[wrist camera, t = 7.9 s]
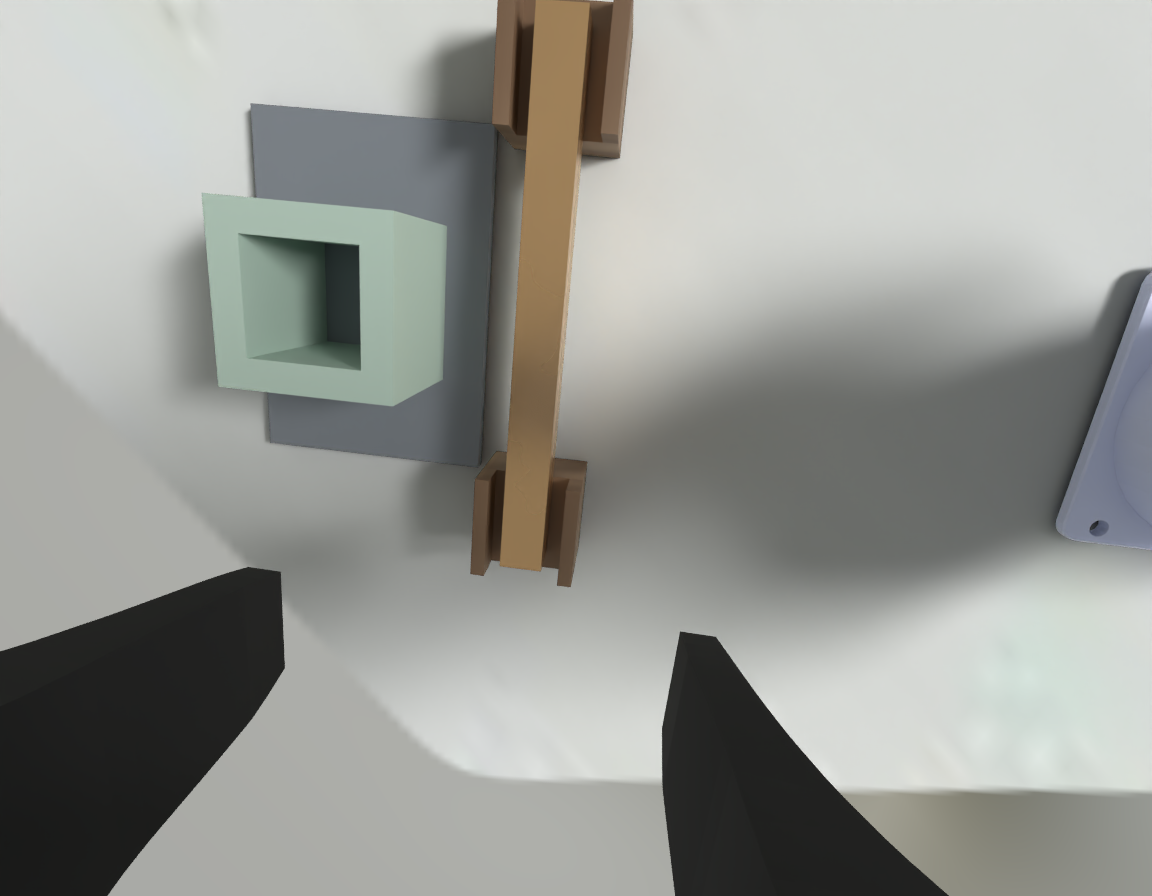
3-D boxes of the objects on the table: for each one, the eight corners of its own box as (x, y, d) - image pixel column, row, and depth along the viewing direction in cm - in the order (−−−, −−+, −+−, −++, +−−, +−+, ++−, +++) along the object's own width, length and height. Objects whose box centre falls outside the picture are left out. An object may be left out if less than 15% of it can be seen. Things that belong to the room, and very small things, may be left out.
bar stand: (632, 34, 15) (633, -18, 13) (578, 545, 20) (570, 587, 17) (521, 26, 16) (499, -27, 13) (491, 534, 20) (470, 574, 17)
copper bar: (593, 25, 14) (589, 2, 13) (546, 552, 18) (540, 571, 17) (543, 21, 14) (535, -2, 13) (507, 547, 18) (499, 566, 17)
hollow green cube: (447, 226, 17) (393, 210, 13) (442, 379, 18) (393, 406, 14) (297, 212, 17) (201, 193, 13) (303, 364, 18) (218, 386, 15)
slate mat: (497, 127, 16) (494, 124, 16) (480, 463, 19) (477, 467, 19) (259, 107, 17) (250, 103, 16) (277, 439, 20) (270, 442, 19)
